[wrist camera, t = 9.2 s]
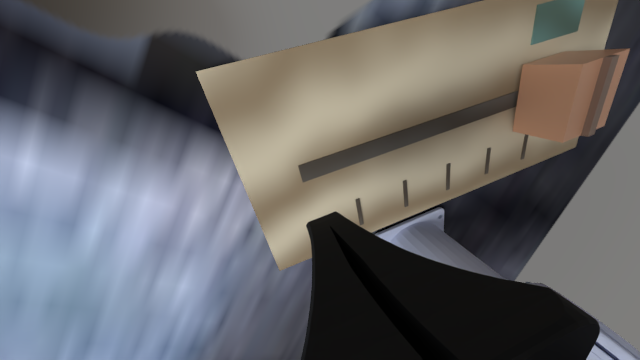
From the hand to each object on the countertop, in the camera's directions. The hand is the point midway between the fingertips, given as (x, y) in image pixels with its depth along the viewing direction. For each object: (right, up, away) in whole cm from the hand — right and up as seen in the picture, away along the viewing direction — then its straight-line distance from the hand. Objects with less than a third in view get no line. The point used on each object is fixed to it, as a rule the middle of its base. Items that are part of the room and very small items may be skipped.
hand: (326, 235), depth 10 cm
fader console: (+8, +8, +10) cm, 15 cm away
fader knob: (+17, +9, +9) cm, 21 cm away
